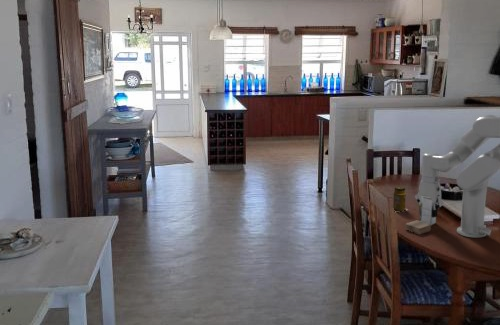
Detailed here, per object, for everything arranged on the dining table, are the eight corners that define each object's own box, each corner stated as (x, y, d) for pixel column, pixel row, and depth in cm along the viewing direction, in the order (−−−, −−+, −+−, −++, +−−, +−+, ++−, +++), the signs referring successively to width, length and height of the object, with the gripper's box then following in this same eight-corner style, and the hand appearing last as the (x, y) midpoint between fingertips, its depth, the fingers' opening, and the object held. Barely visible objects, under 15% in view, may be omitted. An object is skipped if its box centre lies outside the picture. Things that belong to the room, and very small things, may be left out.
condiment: (408, 209, 267) (409, 187, 264) (397, 213, 262) (398, 190, 260) (397, 206, 273) (398, 184, 270) (386, 209, 268) (387, 187, 265)
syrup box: (424, 220, 250) (426, 192, 247) (436, 223, 246) (437, 194, 243) (419, 223, 246) (420, 194, 243) (430, 226, 242) (432, 197, 239)
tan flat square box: (430, 230, 237) (430, 224, 236) (419, 234, 232) (419, 228, 232) (416, 226, 243) (416, 220, 242) (405, 229, 239) (405, 223, 238)
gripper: (450, 181, 236) (448, 218, 240) (420, 174, 250) (418, 209, 254) (440, 184, 232) (438, 221, 236) (409, 176, 246) (408, 212, 250)
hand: (428, 214), depth 245 cm, fingers closed on syrup box, 6 cm apart
